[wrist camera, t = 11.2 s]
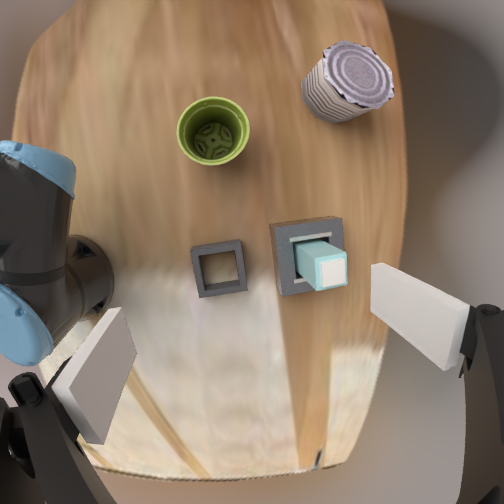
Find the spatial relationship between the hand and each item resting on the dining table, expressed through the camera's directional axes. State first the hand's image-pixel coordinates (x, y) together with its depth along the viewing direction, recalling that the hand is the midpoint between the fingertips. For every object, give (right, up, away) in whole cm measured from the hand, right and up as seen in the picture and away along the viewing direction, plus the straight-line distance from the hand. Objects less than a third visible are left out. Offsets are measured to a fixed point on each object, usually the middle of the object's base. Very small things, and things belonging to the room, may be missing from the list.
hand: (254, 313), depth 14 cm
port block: (+9, +3, +34) cm, 35 cm away
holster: (-5, +1, +32) cm, 33 cm away
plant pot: (-6, +20, +28) cm, 35 cm away
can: (+14, +30, +29) cm, 44 cm away
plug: (+9, +3, +34) cm, 35 cm away
